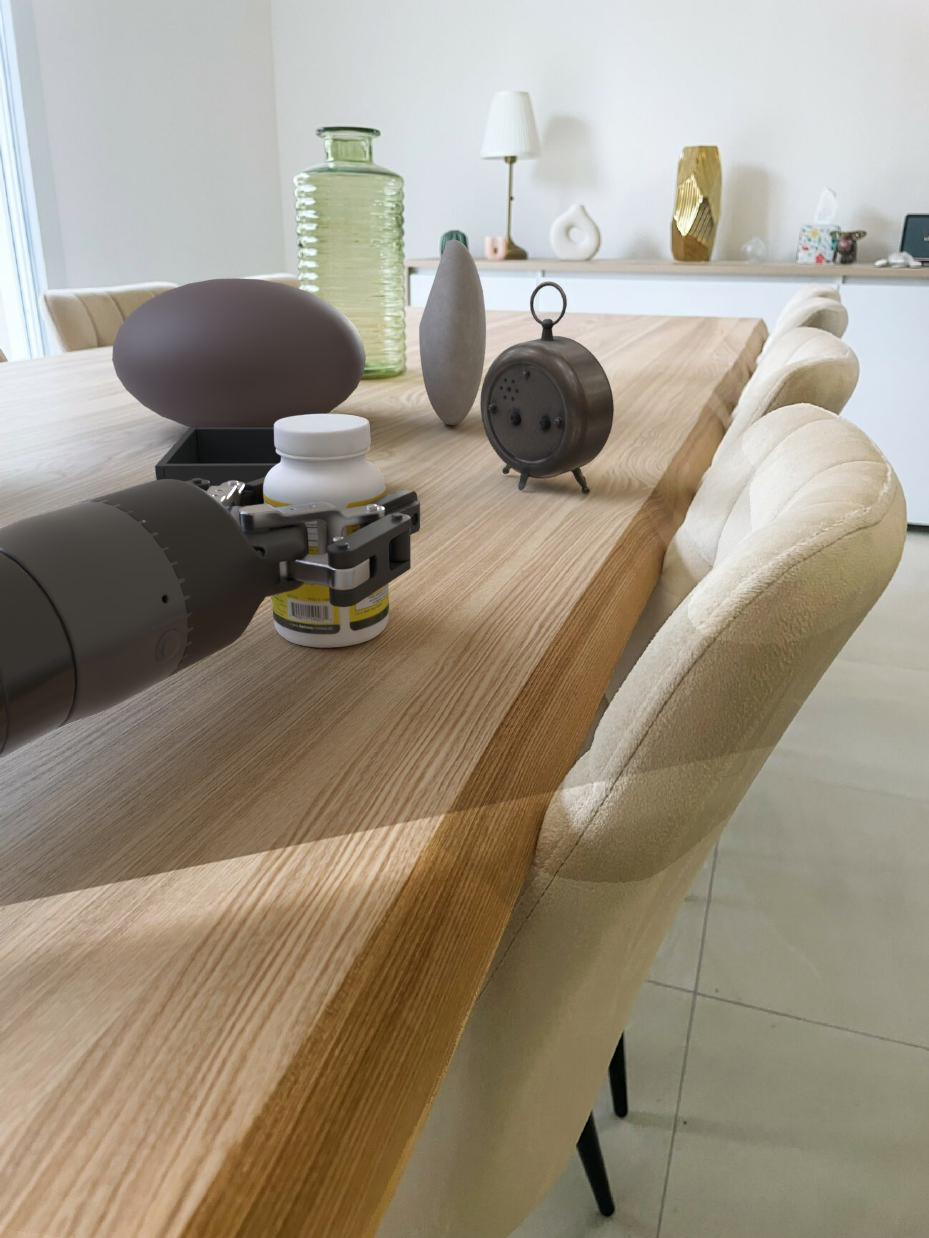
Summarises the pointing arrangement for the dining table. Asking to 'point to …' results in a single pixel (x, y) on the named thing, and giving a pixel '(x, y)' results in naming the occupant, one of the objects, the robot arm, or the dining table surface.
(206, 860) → the dining table surface
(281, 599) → the pill bottle
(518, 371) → the alarm clock
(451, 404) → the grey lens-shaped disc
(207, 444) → the bin
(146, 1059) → the dining table surface
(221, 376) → the smooth stone
